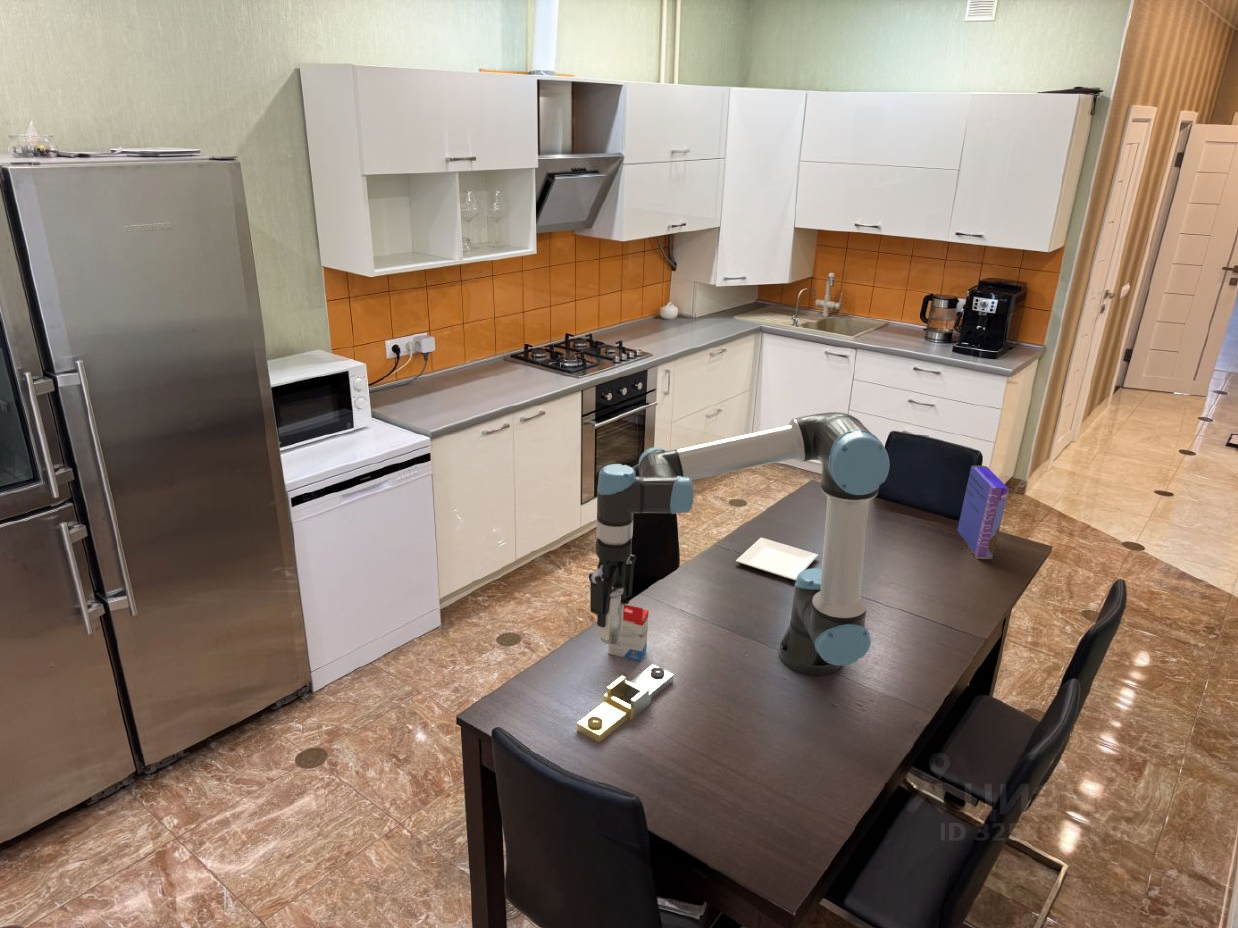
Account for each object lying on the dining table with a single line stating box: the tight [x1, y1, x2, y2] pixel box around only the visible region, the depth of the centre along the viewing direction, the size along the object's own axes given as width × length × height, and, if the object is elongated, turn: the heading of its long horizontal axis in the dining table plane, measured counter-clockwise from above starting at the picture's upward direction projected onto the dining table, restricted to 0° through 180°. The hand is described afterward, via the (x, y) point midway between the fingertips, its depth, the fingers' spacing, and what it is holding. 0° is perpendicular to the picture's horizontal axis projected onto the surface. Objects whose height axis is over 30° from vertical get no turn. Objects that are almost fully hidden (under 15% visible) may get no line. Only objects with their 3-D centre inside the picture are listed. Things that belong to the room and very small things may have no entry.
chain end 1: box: [576, 675, 635, 744], centre depth 187 cm, size 8×16×4 cm, turn 143°
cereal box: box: [956, 464, 1010, 558], centre depth 267 cm, size 17×5×24 cm, turn 179°
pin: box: [600, 584, 624, 645], centre depth 187 cm, size 5×5×13 cm
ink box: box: [607, 604, 649, 662], centre depth 207 cm, size 8×5×15 cm, turn 71°
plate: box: [735, 537, 819, 582], centre depth 256 cm, size 19×19×2 cm
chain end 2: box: [624, 663, 675, 719], centre depth 195 cm, size 8×16×4 cm, turn 143°
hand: (610, 632), depth 189 cm, fingers closed on pin, 4 cm apart
